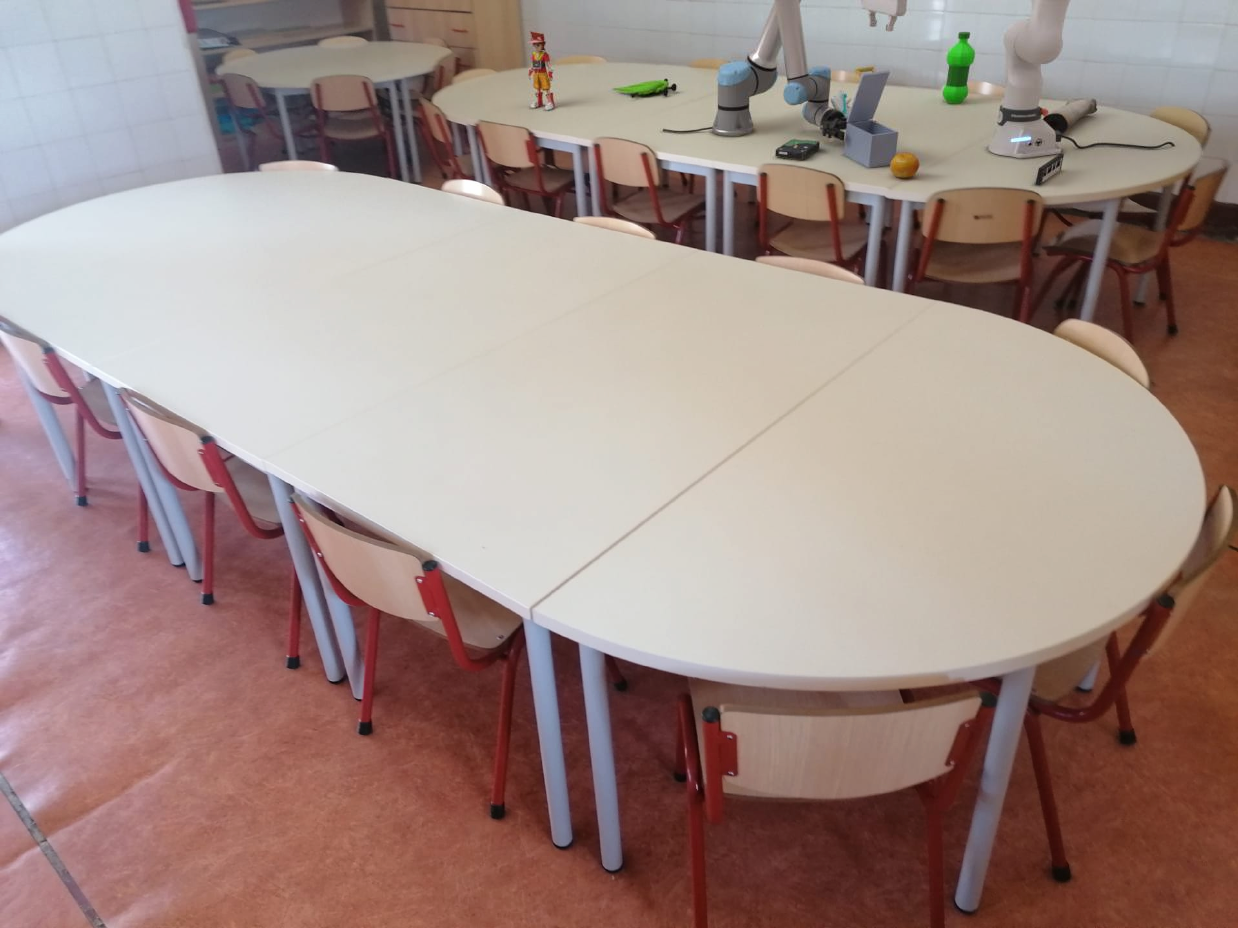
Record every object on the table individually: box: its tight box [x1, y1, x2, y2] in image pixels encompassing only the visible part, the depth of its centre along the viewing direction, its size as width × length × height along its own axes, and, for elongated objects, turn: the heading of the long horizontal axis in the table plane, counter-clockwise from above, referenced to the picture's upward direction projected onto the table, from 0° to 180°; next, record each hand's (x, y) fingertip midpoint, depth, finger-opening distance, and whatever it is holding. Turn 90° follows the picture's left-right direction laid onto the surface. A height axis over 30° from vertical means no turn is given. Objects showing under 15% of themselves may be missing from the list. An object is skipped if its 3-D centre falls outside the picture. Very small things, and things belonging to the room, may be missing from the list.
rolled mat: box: [1042, 97, 1098, 135], centre depth 320 cm, size 30×9×10 cm
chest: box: [843, 119, 899, 169], centre depth 297 cm, size 17×9×10 cm, turn 16°
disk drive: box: [774, 138, 821, 161], centre depth 308 cm, size 10×3×15 cm
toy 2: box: [612, 78, 677, 99], centre depth 396 cm, size 28×5×30 cm
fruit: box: [889, 152, 920, 179], centre depth 281 cm, size 8×8×8 cm
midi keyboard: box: [1035, 153, 1065, 186], centre depth 273 cm, size 18×1×5 cm, turn 138°
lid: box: [847, 65, 890, 123], centre depth 294 cm, size 18×9×8 cm
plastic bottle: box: [942, 31, 976, 104], centre depth 348 cm, size 10×10×25 cm
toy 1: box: [527, 31, 556, 111], centre depth 374 cm, size 12×9×30 cm
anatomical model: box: [830, 89, 852, 118], centre depth 343 cm, size 15×10×10 cm
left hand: (861, 134), depth 300 cm, fingers open, 13 cm apart
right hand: (880, 29), depth 278 cm, fingers open, 8 cm apart
